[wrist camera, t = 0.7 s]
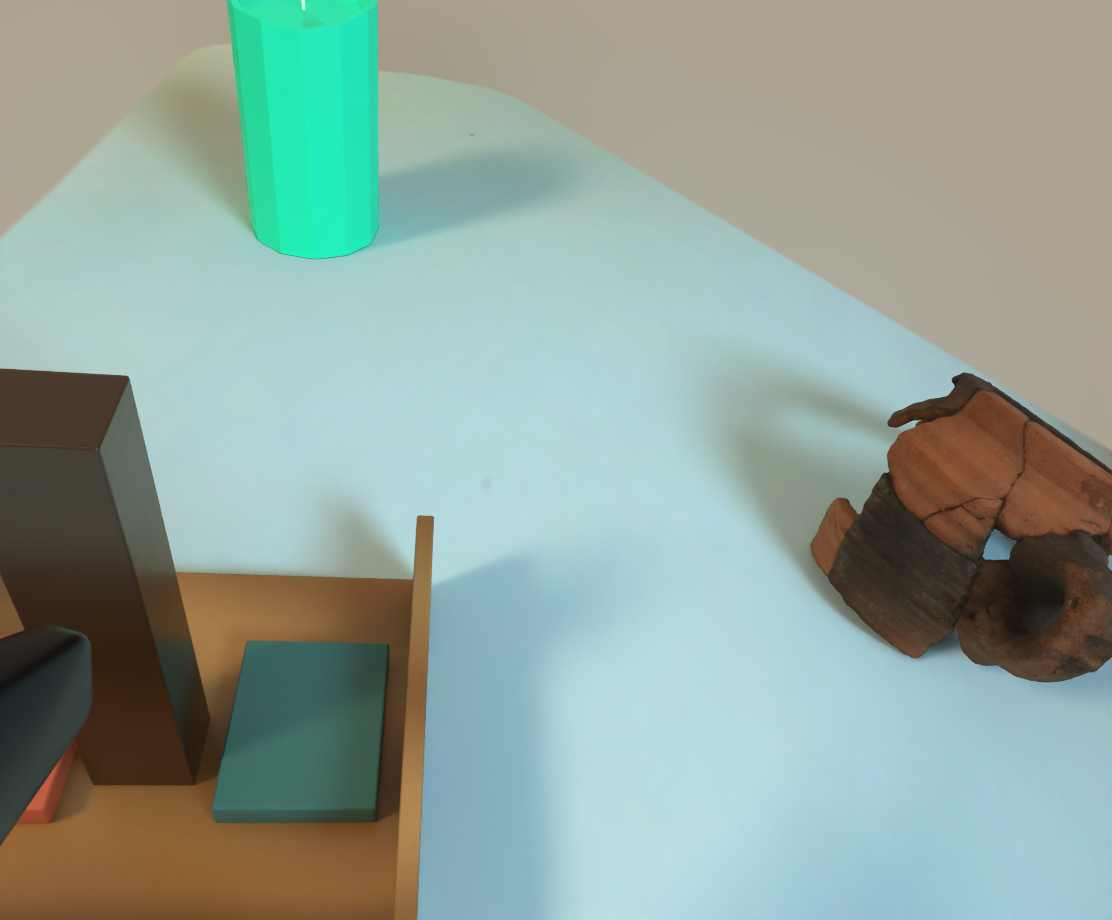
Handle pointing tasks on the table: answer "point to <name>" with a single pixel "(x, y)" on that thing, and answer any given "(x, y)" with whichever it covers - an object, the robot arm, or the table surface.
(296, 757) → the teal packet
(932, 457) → the pottery mug
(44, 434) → the tray
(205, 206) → the table surface
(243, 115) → the candle
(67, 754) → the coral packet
